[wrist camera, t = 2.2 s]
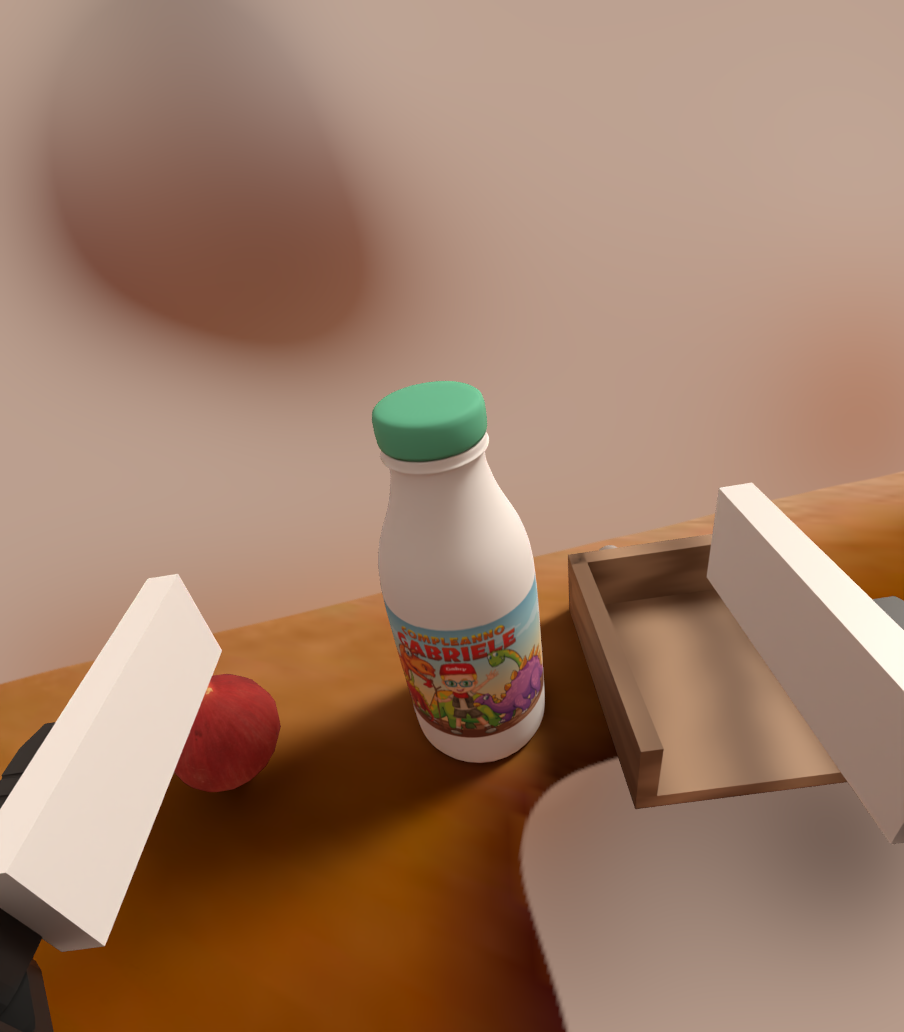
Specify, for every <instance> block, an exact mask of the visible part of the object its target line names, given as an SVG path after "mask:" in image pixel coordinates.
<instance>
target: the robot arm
mask: <svg viewBox="0 0 904 1032" xmlns="http://www.w3.org/2000/svg"><path fill="white" fill-rule="evenodd" d="M707 578H708V580H709V581H710V583H711V584H712V586H713V587H714V589H715V590H716V591H717V593H718V594H719V596H720V597H721V599H722V600H723V602H724V603H725V605H726V606H727V607H728V609H729V610H730V612H731V613H732V615H733V616H734V618H735V619H736V620H737V622H738V623H739V625H740V626H741V628H742V629H743V631H744V632H745V634H746V635H747V636H748V638H749V639H750V641H751V642H752V644H753V645H754V647H755V648H756V650H757V651H758V652H759V654H760V655H761V657H762V658H763V660H764V661H765V663H766V664H767V666H768V667H769V668H770V670H771V671H772V673H773V674H774V676H775V677H776V679H777V680H778V682H779V683H780V684H781V686H782V687H783V689H784V690H785V692H786V693H787V695H788V696H789V698H790V699H791V700H792V702H793V703H794V705H795V706H796V708H797V709H798V711H799V712H800V714H801V715H802V716H803V718H804V719H805V721H806V722H807V724H808V725H809V727H810V728H811V730H812V731H813V732H814V734H815V735H816V737H817V738H818V740H819V741H820V743H821V744H822V745H823V747H824V748H825V750H826V751H827V753H828V754H829V756H830V757H831V759H832V760H833V761H834V763H835V764H836V766H837V767H838V769H839V770H840V772H841V773H842V775H843V776H844V777H845V779H846V780H847V782H848V783H849V785H850V786H851V788H852V789H853V791H854V792H855V793H856V795H857V796H858V798H859V799H860V801H861V802H862V804H863V805H864V807H865V808H866V809H867V811H868V812H869V814H870V815H871V817H872V818H873V820H874V821H875V822H876V824H877V825H878V827H879V828H880V830H881V831H882V833H883V834H884V835H885V837H886V839H887V840H888V841H889V843H890V844H896V843H904V601H903V600H901V599H899V598H897V597H895V596H893V597H886V598H879V599H873V600H872V599H871V598H870V597H869V596H868V595H867V594H866V593H865V592H864V591H863V590H862V589H861V588H860V587H859V586H858V585H857V584H856V583H855V582H853V581H852V580H851V579H850V578H849V577H848V576H847V575H846V574H845V573H844V572H843V571H842V570H841V569H840V568H839V567H838V566H837V565H836V564H835V563H834V562H833V561H832V560H831V559H830V558H829V557H828V556H827V555H826V554H825V553H824V552H823V551H822V550H821V549H820V548H819V547H818V546H817V545H815V544H814V543H813V542H812V541H811V540H810V539H809V538H808V537H807V536H806V535H805V534H804V533H803V532H802V531H801V530H800V529H799V528H798V527H797V526H796V525H795V524H794V523H793V522H792V521H791V520H790V519H789V518H788V517H787V516H786V515H785V514H784V513H783V512H782V511H781V510H780V509H779V508H777V507H776V506H775V505H774V504H773V503H772V502H771V501H770V500H769V499H768V498H767V497H766V496H765V495H764V494H763V493H762V492H761V491H760V490H759V489H758V488H757V487H756V486H755V485H754V484H753V483H747V484H741V485H735V486H728V487H722V488H719V491H718V498H717V506H716V513H715V520H714V527H713V534H712V542H711V549H710V556H709V563H708V570H707ZM221 652H222V650H221V648H220V647H219V645H218V643H217V641H216V640H215V638H214V636H213V634H212V633H211V631H210V629H209V627H208V626H207V624H206V622H205V620H204V619H203V617H202V615H201V613H200V612H199V610H198V608H197V606H196V605H195V603H194V601H193V599H192V598H191V596H190V594H189V592H188V591H187V589H186V587H185V585H184V584H183V582H182V580H181V578H180V577H179V575H178V574H174V575H168V576H162V577H155V578H149V579H147V581H146V582H145V584H144V585H143V587H142V589H141V590H140V592H139V594H138V595H137V596H136V598H135V599H134V601H133V603H132V604H131V606H130V607H129V609H128V611H127V612H126V614H125V615H124V617H123V618H122V620H121V621H120V623H119V624H118V626H117V628H116V629H115V631H114V632H113V634H112V636H111V637H110V639H109V640H108V642H107V643H106V645H105V646H104V648H103V649H102V651H101V653H100V654H99V656H98V657H97V659H96V660H95V662H94V664H93V665H92V667H91V668H90V670H89V671H88V673H87V674H86V676H85V678H84V679H83V681H82V682H81V684H80V685H79V687H78V688H77V690H76V692H75V693H74V695H73V696H72V698H71V699H70V701H69V703H68V704H67V706H66V707H65V709H64V710H63V712H62V713H61V715H60V717H59V718H58V720H57V721H56V722H54V723H47V724H44V725H43V726H42V727H41V728H40V729H39V730H38V731H37V732H36V733H35V734H34V735H33V736H32V737H31V738H30V739H29V740H28V741H27V742H26V743H25V744H24V745H23V746H22V747H21V748H20V749H19V750H18V752H17V753H16V755H15V756H14V758H13V759H12V761H11V762H10V764H9V765H8V767H7V768H6V770H5V771H4V773H3V774H2V780H0V1032H53V1027H52V1022H51V1017H50V1012H49V1007H48V1002H47V997H46V992H45V987H44V982H43V977H42V972H41V969H40V968H39V966H38V964H37V962H36V961H35V960H33V959H32V958H33V956H34V954H35V952H36V950H37V948H38V946H39V943H40V941H41V939H44V940H45V941H47V942H48V943H50V944H51V945H52V946H54V947H55V948H57V949H58V950H60V951H61V952H64V951H72V950H79V949H87V948H95V947H102V946H105V944H106V942H107V939H108V937H109V934H110V932H111V929H112V927H113V924H114V922H115V919H116V916H117V914H118V911H119V909H120V906H121V904H122V901H123V899H124V896H125V894H126V891H127V889H128V886H129V884H130V881H131V879H132V876H133V874H134V871H135V869H136V866H137V864H138V861H139V859H140V856H141V853H142V851H143V848H144V846H145V843H146V841H147V838H148V836H149V833H150V831H151V828H152V826H153V823H154V821H155V818H156V816H157V813H158V811H159V808H160V806H161V803H162V801H163V798H164V796H165V793H166V790H167V788H168V785H169V783H170V780H171V778H172V775H173V773H174V770H175V768H176V765H177V763H178V760H179V758H180V755H181V753H182V750H183V748H184V745H185V743H186V740H187V738H188V735H189V733H190V730H191V727H192V725H193V722H194V720H195V717H196V715H197V712H198V710H199V707H200V705H201V702H202V700H203V697H204V695H205V692H206V690H207V687H208V685H209V682H210V680H211V677H212V675H213V672H214V669H215V667H216V664H217V662H218V659H219V657H220V654H221Z"/></svg>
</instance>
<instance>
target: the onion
mask: <svg viewBox="0 0 904 1032" xmlns="http://www.w3.org/2000/svg"><path fill="white" fill-rule="evenodd" d="M280 727H281V726H280V721H279V716H278V711H277V707H276V703H275V701H274V699H273V698H272V696H271V695H270V694H269V693H268V692H267V691H266V690H264V689H263V688H262V687H261V686H259V685H258V684H257V683H256V682H254V681H253V680H252V679H249V678H246V677H241V676H237V675H232V674H222V675H214V676H212V677H211V680H210V682H209V685H208V687H207V690H206V692H205V695H204V697H203V700H202V702H201V705H200V707H199V710H198V712H197V715H196V717H195V720H194V722H193V725H192V727H191V730H190V733H189V735H188V738H187V740H186V743H185V745H184V748H183V750H182V753H181V755H180V758H179V760H178V763H177V765H176V768H175V770H174V773H175V774H176V775H177V776H178V777H179V778H180V779H181V780H182V781H183V782H184V783H185V784H187V785H189V786H191V787H192V788H194V789H199V790H203V791H207V792H221V791H226V790H232V789H235V788H237V787H239V786H241V785H243V784H245V783H246V782H248V781H250V780H252V779H253V778H254V777H255V776H256V775H257V774H258V773H259V772H260V771H261V770H262V769H263V768H264V767H266V765H267V763H268V761H269V760H270V758H271V756H272V754H273V753H274V751H275V747H276V743H277V739H278V735H279V731H280Z"/></svg>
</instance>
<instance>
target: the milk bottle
mask: <svg viewBox="0 0 904 1032" xmlns="http://www.w3.org/2000/svg"><path fill="white" fill-rule="evenodd" d="M372 423H373V428H374V433H375V437H376V440H377V444H378V446H379V448H380V449H381V453H380V455H381V460H382V462H383V463H384V464H385V465H386V466H387V467H388V468H389V469H390V474H391V484H390V497H389V504H388V509H387V513H386V517H385V521H384V525H383V528H382V532H381V537H380V543H379V552H378V568H379V576H380V584H381V589H382V593H383V598H384V602H385V606H386V611H387V614H388V618H389V622H390V625H391V629H392V632H393V636H394V640H395V643H396V647H397V650H398V654H399V657H400V661H401V664H402V668H403V671H404V674H405V678H406V681H407V685H408V688H409V692H410V695H411V698H412V702H413V705H414V708H415V712H416V715H417V718H418V721H419V724H420V726H421V729H422V731H423V733H424V735H425V736H426V738H427V739H428V740H429V741H430V742H431V744H432V745H434V746H435V747H436V748H437V749H438V750H440V751H441V752H443V753H444V754H446V755H448V756H450V757H453V758H455V759H457V760H462V761H465V762H475V763H484V762H493V761H496V760H499V759H502V758H506V757H508V756H509V755H511V754H513V753H515V752H517V751H518V750H519V749H520V748H522V747H523V746H524V745H525V744H527V742H528V741H529V740H530V739H531V738H532V737H533V735H534V734H535V732H536V731H537V729H538V727H539V726H540V723H541V721H542V718H543V714H544V708H545V691H544V675H543V660H542V646H541V632H540V619H539V607H538V595H537V584H536V576H535V568H534V560H533V555H532V551H531V546H530V542H529V539H528V536H527V534H526V531H525V528H524V526H523V524H522V522H521V520H520V518H519V516H518V514H517V512H516V511H515V509H514V508H513V506H512V505H511V503H510V502H509V501H508V499H507V498H506V496H505V495H504V494H503V492H502V491H501V489H500V487H499V486H498V484H497V483H496V481H495V479H494V477H493V475H492V473H491V470H490V468H489V466H488V463H487V460H486V457H485V450H486V449H487V446H488V444H489V436H488V434H487V433H486V429H487V416H486V408H485V402H484V399H483V397H482V394H481V392H480V391H479V390H478V389H476V388H475V387H473V386H471V385H469V384H465V383H461V382H454V381H436V382H428V383H422V384H416V385H412V386H409V387H406V388H403V389H400V390H398V391H395V392H393V393H391V394H389V395H387V396H386V397H384V398H383V399H382V400H381V401H379V402H378V404H377V405H376V406H375V407H374V409H373V412H372Z"/></svg>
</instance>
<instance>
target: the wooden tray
mask: <svg viewBox="0 0 904 1032" xmlns="http://www.w3.org/2000/svg"><path fill="white" fill-rule="evenodd" d="M711 542H712V534H709V535H702V536H695V537H688V538H682V539H675V540H668V541H661V542H654V543H647V544H640V545H633V546H626V547H619V548H617V547H615V546H612V545H608V546H604V547H602V548H601V549H600V550H599V551H592V552H585V553H578V554H571V555H568V575H569V610H570V613H571V616H572V619H573V622H574V625H575V628H576V631H577V634H578V637H579V640H580V643H581V646H582V649H583V652H584V655H585V658H586V661H587V664H588V667H589V670H590V673H591V676H592V679H593V682H594V686H595V689H596V692H597V695H598V698H599V701H600V704H601V707H602V710H603V713H604V716H605V719H606V722H607V725H608V728H609V731H610V734H611V737H612V740H613V743H614V746H615V749H616V752H617V755H618V758H619V761H620V764H621V767H622V770H623V773H624V776H625V779H626V782H627V785H628V788H629V791H630V794H631V797H632V800H633V803H634V806H635V809H640V808H648V807H655V806H663V805H671V804H678V803H687V802H695V801H702V800H710V799H718V798H725V797H734V796H741V795H749V794H756V793H765V792H773V791H781V790H788V789H796V788H804V787H812V786H820V785H827V784H834V783H843V782H847V780H846V779H845V777H844V776H843V775H842V773H841V772H840V770H839V769H838V767H837V766H836V764H835V763H834V761H833V760H832V759H831V757H830V756H829V754H828V753H827V751H826V750H825V748H824V747H823V745H822V744H821V743H820V741H819V740H818V738H817V737H816V735H815V734H814V732H813V731H812V730H811V728H810V727H809V725H808V724H807V722H806V721H805V719H804V718H803V716H802V715H801V714H800V712H799V711H798V709H797V708H796V706H795V705H794V703H793V702H792V700H791V699H790V698H789V696H788V695H787V693H786V692H785V690H784V689H783V687H782V686H781V684H780V683H779V682H778V680H777V679H776V677H775V676H774V674H773V673H772V671H771V670H770V668H769V667H768V666H767V664H766V663H765V661H764V660H763V658H762V657H761V655H760V654H759V652H758V651H757V650H756V648H755V647H754V645H753V644H752V642H751V641H750V639H749V638H748V636H747V635H746V634H745V632H744V631H743V629H742V628H741V626H740V625H739V623H738V622H737V620H736V619H735V618H734V616H733V615H732V613H731V612H730V610H729V609H728V607H727V606H726V605H725V603H724V602H723V600H722V599H721V597H720V596H719V594H718V593H717V591H716V590H715V589H714V587H713V586H712V584H711V583H710V581H709V580H708V578H707V570H708V563H709V556H710V549H711Z"/></svg>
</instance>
